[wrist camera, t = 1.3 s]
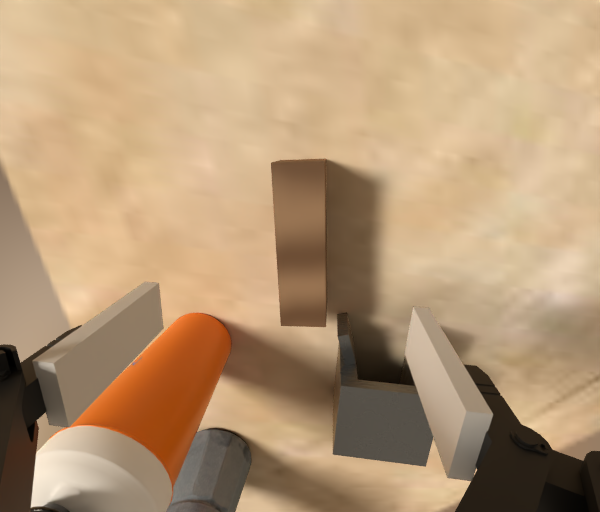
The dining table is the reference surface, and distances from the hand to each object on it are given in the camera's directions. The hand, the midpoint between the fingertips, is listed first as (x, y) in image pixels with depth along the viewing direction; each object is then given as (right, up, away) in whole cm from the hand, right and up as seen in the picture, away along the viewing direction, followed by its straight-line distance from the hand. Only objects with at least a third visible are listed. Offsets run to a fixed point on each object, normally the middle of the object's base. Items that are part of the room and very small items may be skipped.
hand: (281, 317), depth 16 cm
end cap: (+9, -8, +18) cm, 22 cm away
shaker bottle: (-10, -6, +19) cm, 23 cm away
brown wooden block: (+1, +5, +14) cm, 15 cm away
